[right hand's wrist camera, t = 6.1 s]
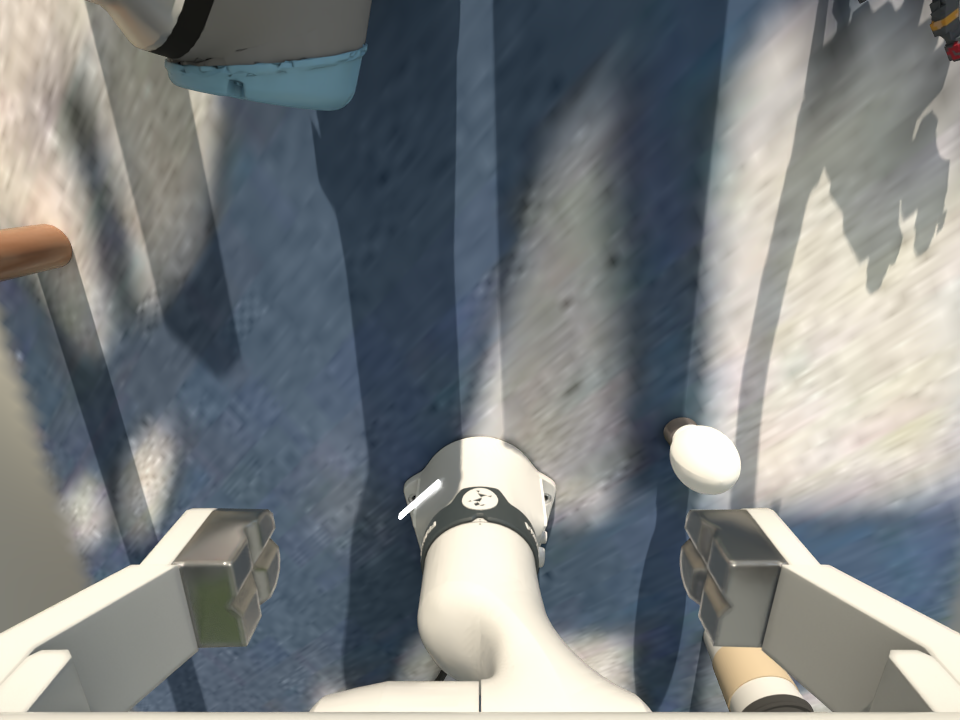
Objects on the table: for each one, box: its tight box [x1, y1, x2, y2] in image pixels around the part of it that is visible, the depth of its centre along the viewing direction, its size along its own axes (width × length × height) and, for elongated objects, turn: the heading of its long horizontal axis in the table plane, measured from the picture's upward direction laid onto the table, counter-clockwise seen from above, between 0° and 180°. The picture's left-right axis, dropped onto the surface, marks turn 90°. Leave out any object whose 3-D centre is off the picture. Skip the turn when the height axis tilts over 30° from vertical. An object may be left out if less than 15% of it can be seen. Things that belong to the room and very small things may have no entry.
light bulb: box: [664, 418, 741, 495], centre depth 58 cm, size 7×7×11 cm
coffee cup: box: [703, 631, 814, 712], centre depth 67 cm, size 9×9×15 cm
